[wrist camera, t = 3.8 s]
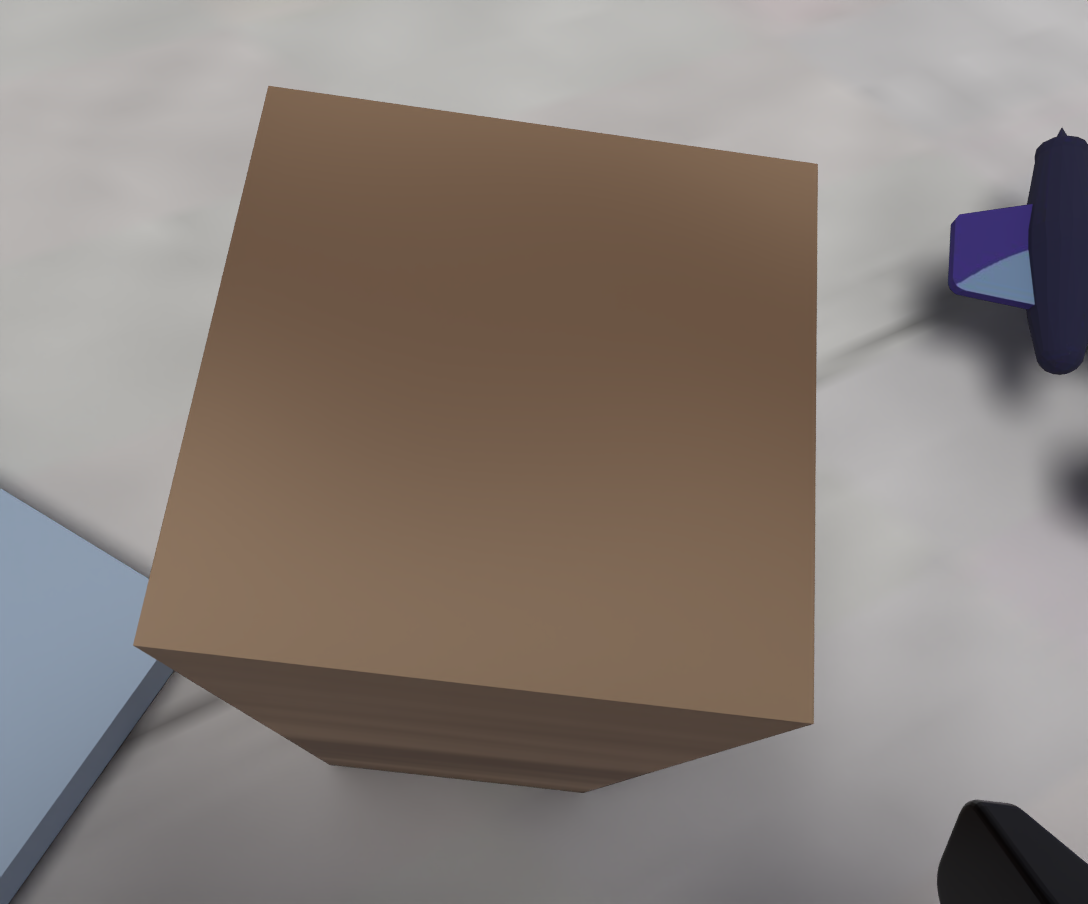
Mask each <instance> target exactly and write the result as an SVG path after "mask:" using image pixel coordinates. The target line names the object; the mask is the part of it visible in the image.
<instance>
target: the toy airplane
mask: <svg viewBox="0 0 1088 904" xmlns="http://www.w3.org/2000/svg"><path fill="white" fill-rule="evenodd" d="M948 285H949V288H950V290H952V291H953V292H954V293H955V294H957V295H961V296H966V297H971V298H976V299H981V300H985V301H990V302H995V303H1000V304H1005V305H1009V306H1014V307H1019V308H1024V309H1026V311H1027V318H1028V323H1029V328H1030V332H1031V337H1032V341H1033V345H1034V350H1035V354H1036V359H1037V362H1038V363H1039V365H1040V366H1041V367H1042V368H1043V369H1044V370H1045V371H1047V372H1049V373H1052V374H1057V375H1061V374H1067V373H1070V372H1072V371H1074V370H1075V369H1077V368H1078V367H1079V365H1080V364H1081V363H1082V362H1083V359H1084V356H1085V352H1086V348H1087V345H1088V144H1087V143H1086V141H1085V140H1083V139H1081V138H1079V137H1074V136H1067V135H1066V133H1065V131H1064V130H1063V128H1061V130H1060V132H1059V134H1058V135H1057V137H1054V138H1052V139H1050V140H1048V141H1046V142H1043V143H1042V144H1041V145H1040V146H1039V147H1038V148H1037V149H1036V153H1035V165H1034V170H1033V176H1032V181H1031V186H1030V192H1029V197H1028V202H1027V205H1022V206H1015V207H1008V208H1001V209H994V210H987V211H980V212H973V213H967V214H960V215H959V216H958V217H957V218H956V219H955V220H954V222H953V223H952V224H951V232H950V252H949V272H948Z"/></svg>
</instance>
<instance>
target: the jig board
mask: <svg viewBox="0 0 1088 904" xmlns="http://www.w3.org/2000/svg"><path fill="white" fill-rule="evenodd" d="M148 581H149V579H148V578H147V577H145V576H143V575H142V574H140V573H138V572H137V571H135V570H133V569H132V568H130V567H129V566H127V565H125V564H124V563H122V562H120V561H119V560H117V559H115V558H114V557H112V556H111V555H109V554H107V553H106V552H104V551H102V550H101V549H99V548H97V547H96V546H94V545H93V544H91V543H89V542H88V541H86V540H84V539H83V538H81V537H79V536H78V535H76V534H75V533H73V532H71V531H70V530H68V529H66V528H65V527H63V526H61V525H60V524H58V523H57V522H55V521H53V520H52V519H50V518H48V517H47V516H45V515H43V514H42V513H40V512H39V511H37V510H35V509H34V508H32V507H30V506H29V505H27V504H25V503H24V502H22V501H21V500H19V499H17V498H16V497H14V496H12V495H11V494H9V493H7V492H6V491H4V490H3V489H1V488H0V904H9V902H10V901H11V899H12V898H13V897H14V895H15V894H16V892H17V891H18V890H19V888H20V887H21V885H22V884H23V882H24V881H25V880H26V878H27V877H28V875H29V874H30V873H31V871H32V870H33V868H34V867H35V866H36V864H37V863H38V861H39V860H40V858H41V857H42V856H43V854H44V853H45V851H46V850H47V849H48V847H49V846H50V844H51V843H52V842H53V840H54V839H55V837H56V836H57V835H58V833H59V832H60V830H61V829H62V827H63V826H64V825H65V823H66V822H67V820H68V819H69V818H70V816H71V815H72V813H73V812H74V811H75V809H76V808H77V806H78V805H79V803H80V802H81V801H82V799H83V798H84V796H85V795H86V794H87V792H88V791H89V789H90V788H91V787H92V785H93V784H94V782H95V781H96V780H97V778H98V777H99V775H100V774H101V772H102V771H103V770H104V768H105V767H106V765H107V764H108V763H109V761H110V760H111V758H112V757H113V756H114V754H115V753H116V751H117V750H118V748H119V747H120V746H121V744H122V743H123V741H124V740H125V739H126V737H127V736H128V734H129V733H130V732H131V730H132V729H133V727H134V726H135V725H136V723H137V722H138V720H139V719H140V717H141V716H142V715H143V713H144V712H145V710H146V709H147V708H148V706H149V705H150V703H151V702H152V701H153V699H154V698H155V696H156V695H157V693H158V692H159V691H160V689H161V688H162V686H163V685H164V684H165V682H166V681H167V679H168V678H169V677H170V675H171V674H172V672H173V671H174V670H173V669H171V668H169V667H168V666H166V665H164V664H163V663H161V662H159V661H158V660H156V659H154V658H153V657H151V656H150V655H148V654H146V653H145V652H143V651H141V650H140V649H138V648H136V647H135V646H133V643H134V639H135V635H136V631H137V626H138V622H139V618H140V614H141V610H142V606H143V602H144V598H145V593H146V589H147V585H148Z"/></svg>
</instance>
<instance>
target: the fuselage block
mask: <svg viewBox="0 0 1088 904" xmlns="http://www.w3.org/2000/svg"><path fill="white" fill-rule="evenodd" d="M817 196H818V164H814V163H807V162H800V161H793V160H786V159H779V158H771V157H764V156H757V155H750V154H743V153H736V152H729V151H722V150H715V149H708V148H701V147H694V146H687V145H680V144H673V143H666V142H659V141H652V140H645V139H638V138H631V137H624V136H617V135H610V134H603V133H596V132H589V131H582V130H575V129H568V128H561V127H554V126H547V125H540V124H533V123H526V122H519V121H512V120H505V119H498V118H491V117H484V116H477V115H470V114H463V113H456V112H449V111H441V110H434V109H427V108H420V107H413V106H406V105H399V104H392V103H385V102H378V101H371V100H364V99H357V98H350V97H343V96H336V95H329V94H322V93H315V92H308V91H301V90H294V89H287V88H280V87H273V86H268V90H267V94H266V98H265V102H264V106H263V111H262V115H261V119H260V123H259V127H258V131H257V135H256V139H255V144H254V148H253V152H252V156H251V160H250V164H249V168H248V172H247V177H246V181H245V185H244V189H243V193H242V197H241V201H240V205H239V210H238V214H237V218H236V222H235V226H234V230H233V234H232V239H231V243H230V247H229V251H228V255H227V259H226V263H225V267H224V272H223V276H222V280H221V284H220V288H219V292H218V296H217V300H216V305H215V309H214V313H213V317H212V321H211V325H210V329H209V333H208V338H207V342H206V346H205V350H204V354H203V358H202V362H201V366H200V371H199V375H198V379H197V383H196V387H195V391H194V395H193V399H192V404H191V408H190V412H189V416H188V420H187V424H186V428H185V432H184V437H183V441H182V445H181V449H180V453H179V457H178V461H177V465H176V470H175V474H174V478H173V482H172V486H171V490H170V494H169V498H168V503H167V507H166V511H165V515H164V519H163V523H162V527H161V532H160V536H159V540H158V544H157V548H156V552H155V556H154V560H153V565H152V569H151V573H150V577H149V581H148V585H147V589H146V593H145V598H144V602H143V606H142V610H141V614H140V618H139V622H138V626H137V631H136V635H135V639H134V643H133V646H135V647H136V648H138V649H140V650H141V651H143V652H145V653H146V654H148V655H150V656H151V657H153V658H154V659H156V660H158V661H159V662H161V663H163V664H164V665H166V666H168V667H169V668H171V669H173V670H174V671H176V672H178V673H179V674H181V675H182V676H184V677H186V678H187V679H189V680H191V681H192V682H194V683H196V684H197V685H199V686H201V687H202V688H204V689H206V690H207V691H209V692H211V693H212V694H214V695H215V696H217V697H219V698H220V699H222V700H224V701H225V702H227V703H229V704H230V705H232V706H234V707H235V708H237V709H239V710H240V711H242V712H244V713H245V714H247V715H248V716H250V717H252V718H253V719H255V720H257V721H258V722H260V723H262V724H263V725H265V726H267V727H268V728H270V729H272V730H273V731H275V732H276V733H278V734H280V735H281V736H283V737H285V738H286V739H288V740H290V741H291V742H293V743H295V744H296V745H298V746H300V747H301V748H303V749H305V750H306V751H308V752H309V753H311V754H313V755H314V756H316V757H318V758H319V759H321V760H323V761H324V762H326V763H328V764H329V765H337V766H346V767H355V768H364V769H373V770H382V771H391V772H400V773H409V774H418V775H428V776H437V777H446V778H455V779H464V780H473V781H482V782H491V783H500V784H509V785H518V786H527V787H536V788H545V789H554V790H563V791H572V792H581V793H584V792H587V791H591V790H594V789H597V788H601V787H604V786H607V785H611V784H614V783H617V782H621V781H624V780H627V779H631V778H634V777H637V776H641V775H644V774H647V773H651V772H654V771H658V770H661V769H664V768H668V767H671V766H674V765H678V764H681V763H684V762H688V761H691V760H694V759H698V758H701V757H704V756H708V755H711V754H714V753H718V752H721V751H724V750H728V749H731V748H734V747H738V746H741V745H744V744H748V743H751V742H754V741H758V740H761V739H764V738H768V737H771V736H774V735H778V734H781V733H784V732H788V731H791V730H794V729H798V728H801V727H804V726H808V725H811V724H814V597H815V463H816V329H817Z"/></svg>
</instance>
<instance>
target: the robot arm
mask: <svg viewBox="0 0 1088 904" xmlns="http://www.w3.org/2000/svg"><path fill="white" fill-rule="evenodd" d="M937 888H938V895H939V900H940V904H1088V864H1087V863H1086V862H1085V861H1083V860H1082V859H1081V858H1080V857H1079V856H1077V855H1076V854H1075V853H1074V852H1072V851H1071V850H1070V849H1069V848H1068V847H1066V846H1065V845H1064V844H1063V843H1062V842H1060V841H1059V840H1058V839H1057V838H1056V837H1054V836H1053V835H1052V834H1051V833H1050V832H1048V831H1047V830H1046V829H1045V828H1043V827H1042V826H1041V825H1040V824H1039V823H1037V822H1036V821H1035V820H1034V819H1033V818H1031V817H1030V816H1029V815H1028V814H1027V813H1025V812H1024V811H1023V810H1021V809H1020V808H1019V807H1017V806H1015V805H1013V804H1009V803H1002V802H993V801H984V800H972V801H969V802H967V803H966V804H965V805H964V806H963V808H962V810H961V812H960V814H959V816H958V819H957V821H956V823H955V826H954V828H953V831H952V833H951V836H950V838H949V841H948V843H947V846H946V848H945V851H944V853H943V856H942V858H941V861H940V864H939V867H938V873H937Z"/></svg>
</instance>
